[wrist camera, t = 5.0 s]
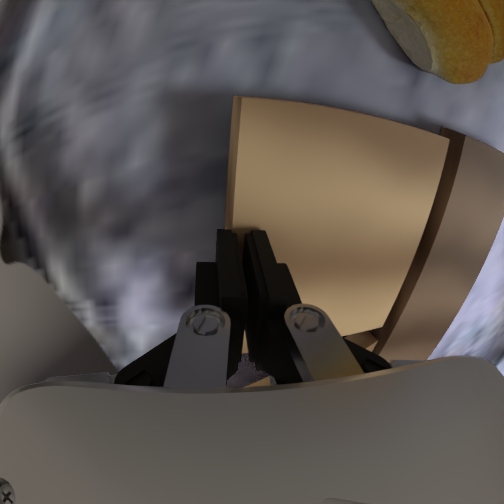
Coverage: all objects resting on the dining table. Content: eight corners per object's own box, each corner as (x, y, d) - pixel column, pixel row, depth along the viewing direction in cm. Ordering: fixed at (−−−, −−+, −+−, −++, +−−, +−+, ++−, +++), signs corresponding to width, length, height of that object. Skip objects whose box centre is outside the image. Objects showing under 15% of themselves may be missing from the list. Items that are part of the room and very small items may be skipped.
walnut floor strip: (441, 126, 12) (465, 135, 10) (499, 151, 13) (520, 161, 11) (329, 405, 26) (334, 421, 24) (379, 395, 26) (385, 410, 25)
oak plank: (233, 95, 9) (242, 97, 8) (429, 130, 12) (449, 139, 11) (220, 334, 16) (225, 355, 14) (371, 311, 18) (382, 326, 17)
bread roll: (501, 45, 9) (546, 52, 5) (425, 100, 11) (478, 114, 8) (433, -66, 5) (474, -80, 2) (330, -34, 8) (367, -65, 4)
